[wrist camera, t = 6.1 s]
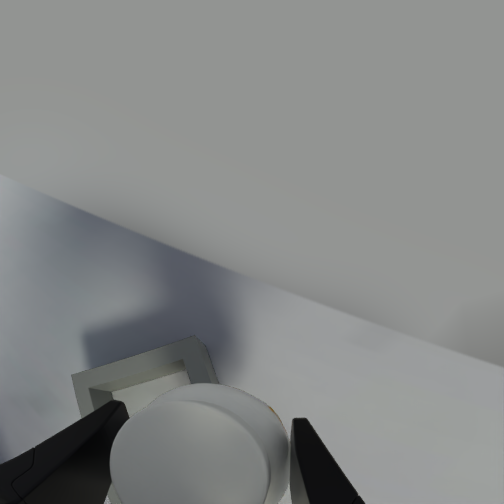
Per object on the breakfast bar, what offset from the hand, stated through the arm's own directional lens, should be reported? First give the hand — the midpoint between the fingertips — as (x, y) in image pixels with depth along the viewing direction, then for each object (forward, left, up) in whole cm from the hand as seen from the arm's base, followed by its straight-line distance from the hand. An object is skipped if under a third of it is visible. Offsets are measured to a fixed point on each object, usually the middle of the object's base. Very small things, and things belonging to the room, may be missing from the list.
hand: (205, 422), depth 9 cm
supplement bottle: (0, -1, -7) cm, 8 cm away
